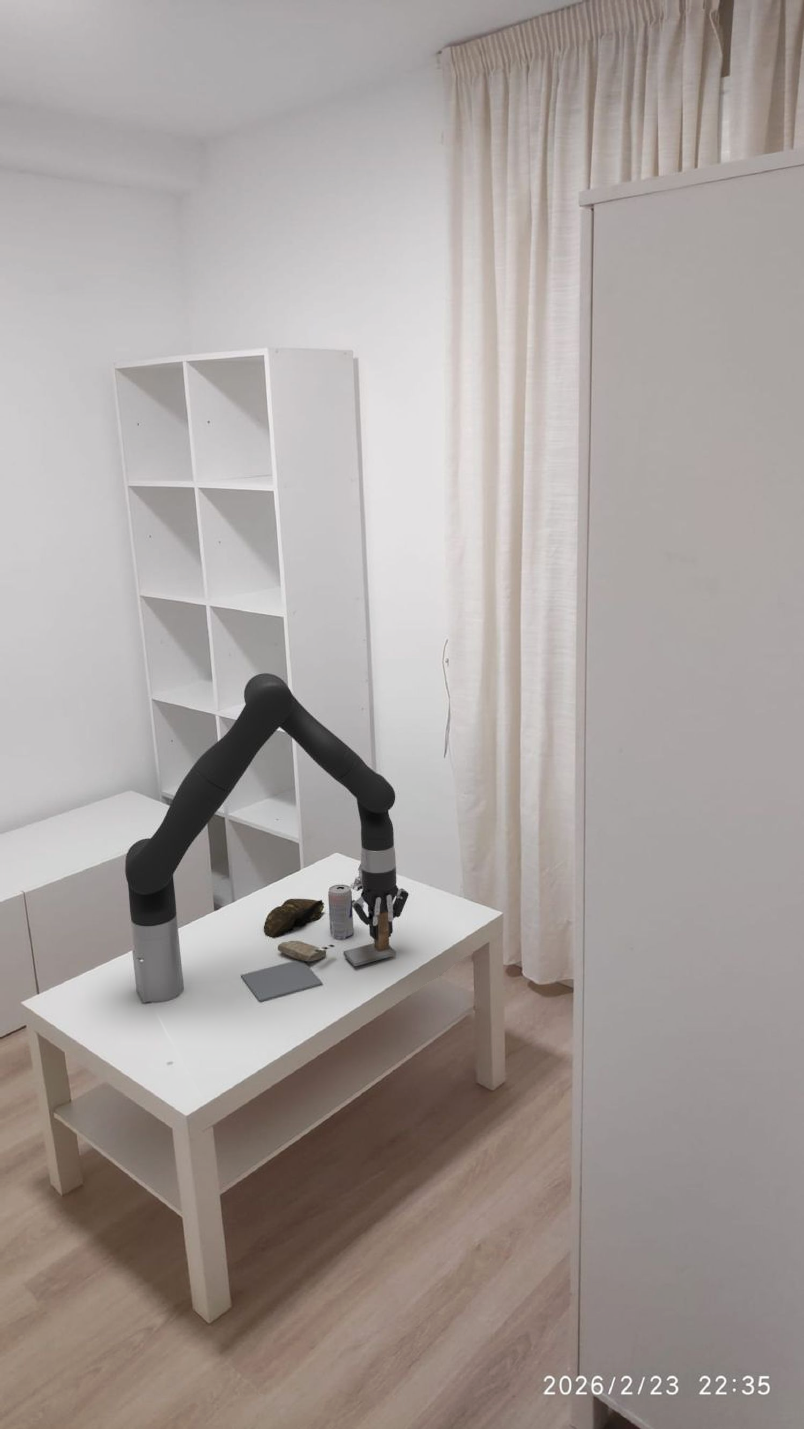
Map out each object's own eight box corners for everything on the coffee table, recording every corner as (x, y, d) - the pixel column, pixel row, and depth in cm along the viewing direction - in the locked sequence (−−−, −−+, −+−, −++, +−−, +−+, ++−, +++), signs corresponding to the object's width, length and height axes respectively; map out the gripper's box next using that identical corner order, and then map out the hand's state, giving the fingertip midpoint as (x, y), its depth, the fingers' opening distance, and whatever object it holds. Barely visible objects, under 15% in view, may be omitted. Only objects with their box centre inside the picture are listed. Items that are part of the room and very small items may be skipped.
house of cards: (362, 907, 256) (361, 878, 254) (341, 896, 262) (339, 868, 260) (390, 896, 261) (389, 867, 259) (369, 885, 268) (368, 858, 266)
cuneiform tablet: (318, 951, 224) (277, 937, 231) (317, 968, 224) (276, 954, 231) (335, 945, 229) (295, 932, 236) (334, 962, 229) (294, 948, 236)
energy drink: (355, 931, 242) (352, 884, 239) (351, 942, 237) (349, 894, 234) (332, 931, 243) (330, 884, 240) (328, 942, 238) (326, 893, 234)
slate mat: (259, 1002, 213) (259, 1000, 213) (240, 977, 223) (240, 975, 223) (322, 984, 219) (322, 982, 219) (301, 961, 229) (301, 959, 229)
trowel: (384, 943, 234) (382, 903, 231) (396, 955, 228) (394, 914, 226) (343, 954, 229) (341, 914, 227) (354, 966, 224) (353, 925, 221)
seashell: (279, 945, 237) (277, 917, 235) (254, 934, 243) (252, 906, 241) (331, 920, 248) (330, 894, 247) (306, 910, 254) (305, 884, 253)
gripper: (356, 877, 219) (360, 952, 223) (414, 863, 225) (417, 936, 229) (342, 865, 225) (345, 938, 229) (399, 852, 231) (401, 923, 235)
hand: (381, 937), depth 229 cm, fingers closed on trowel, 2 cm apart
